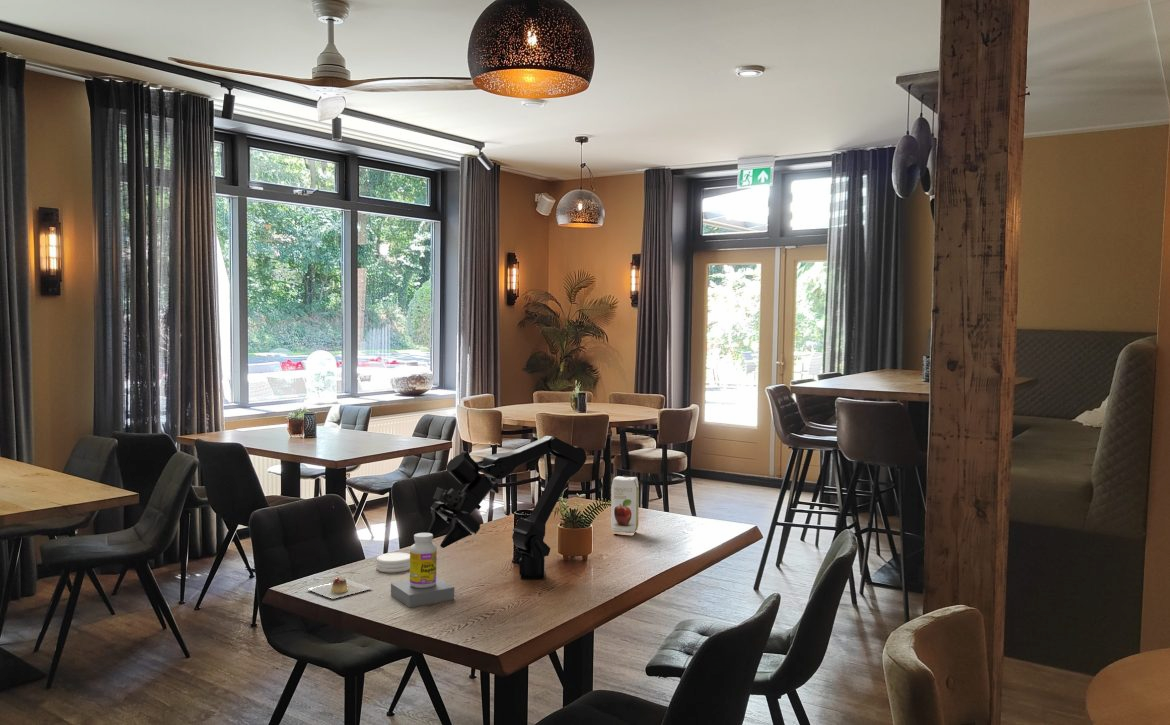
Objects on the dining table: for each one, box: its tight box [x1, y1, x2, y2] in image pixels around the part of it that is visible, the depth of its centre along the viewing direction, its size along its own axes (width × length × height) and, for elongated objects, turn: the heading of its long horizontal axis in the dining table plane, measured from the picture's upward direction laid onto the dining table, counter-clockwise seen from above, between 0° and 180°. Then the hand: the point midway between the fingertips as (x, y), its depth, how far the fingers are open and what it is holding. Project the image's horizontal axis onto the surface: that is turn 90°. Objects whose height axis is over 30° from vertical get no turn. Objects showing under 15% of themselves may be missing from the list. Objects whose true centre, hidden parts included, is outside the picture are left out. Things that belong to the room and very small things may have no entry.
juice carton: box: [610, 475, 640, 533], centre depth 285 cm, size 8×9×19 cm
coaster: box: [376, 552, 410, 574], centre depth 241 cm, size 10×10×4 cm
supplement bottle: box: [409, 532, 438, 588], centre depth 214 cm, size 7×7×13 cm
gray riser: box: [390, 576, 455, 608], centre depth 215 cm, size 12×12×3 cm
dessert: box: [306, 574, 373, 600], centre depth 220 cm, size 12×12×5 cm
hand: (433, 543), depth 216 cm, fingers open, 9 cm apart
